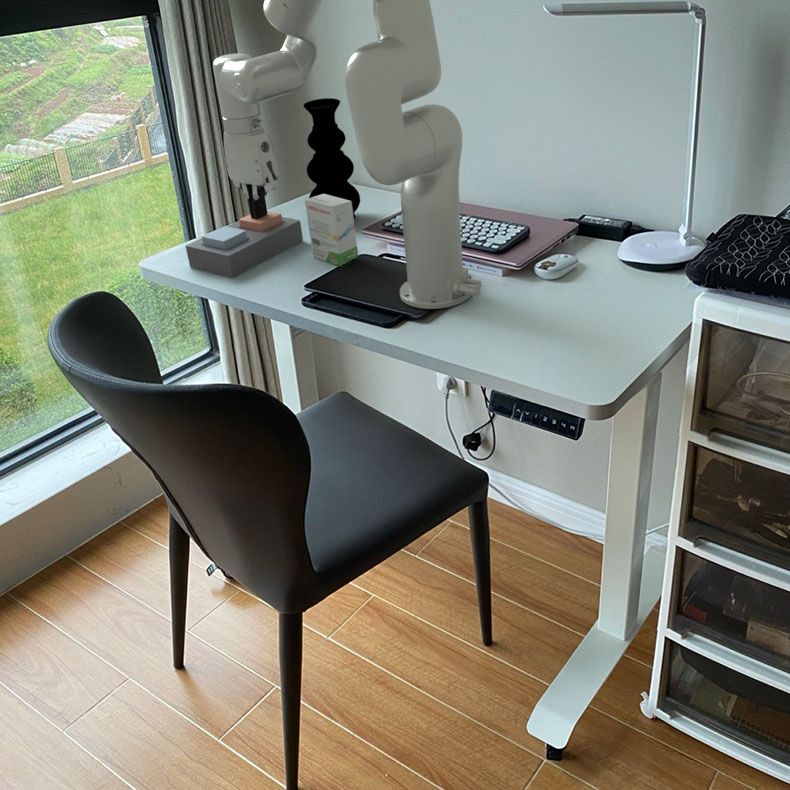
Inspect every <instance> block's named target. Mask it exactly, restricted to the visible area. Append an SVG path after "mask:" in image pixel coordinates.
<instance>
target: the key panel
mask: <svg viewBox="0 0 790 790" xmlns="http://www.w3.org/2000/svg"><path fill="white" fill-rule="evenodd" d="M282 222H283V223H280V224H278V225H276V226H274V227H272V228H270V229H268V230H266V231H264V232H262V233H261V232H256V231H251V230H247V229H242V228H240V223H239V220H238V221H235V222H233V223H231V224H229V225H227V226H226V227H231V228H235V229H240V230H245V231H246V233H247V239H248V240H246V241H244V242H242V243H240V244H238V245H236V246H234V247H232V248H230V249H227V250H225V251H224V250H220V249H216V248H211V247H207V246H204V244H203V239H202V237H201V238H199V239H197V240H195V241H192V242H190V243H188V244H187V245H185V250H186V251H185V252H186V255H187V259H188V264H189V267H190V268H191V269H194V270H199V271H203V272H207V273H211V274H215V275H219V276H223V277H227V278H231V279H234V278H236V277H239V276H240V275H242V274H243V273H246V272H248V271H250V270H251V269H253V268H256V267H257V266H259V265H261V264H263V263H265V262H266V261H269V260H271V259H273V258H275V257H276V256H279V255H281V254H282V253H284V252H286V251H288V250H290V249H292V248H294V247H296V246H297V245H299V244H301V243H304V238H303V232H302V231H303V230H302V224H301V220H299V219H295V218H290V217H289V218H288V217H284V216H282Z"/></svg>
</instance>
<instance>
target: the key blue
mask: <svg viewBox="0 0 790 790" xmlns="http://www.w3.org/2000/svg"><path fill="white" fill-rule="evenodd" d="M201 238H202V239H203V244H204V246H207V247H211V248H216V249H220V250H224V251H225V250H227V249H230V248H232V247H234V246H236V245H238V244H240V243H242V242H244V241H246V240H248V239H247V233H246V231H245V230H240V229H235V228H231V227H227V226H226V225H225V226H221V227H220V228H218V229H217V228H216V229H215V230H213V231H210V232H209V233H207V234H205V235H203V236H201Z"/></svg>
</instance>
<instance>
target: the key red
mask: <svg viewBox="0 0 790 790" xmlns="http://www.w3.org/2000/svg"><path fill="white" fill-rule="evenodd" d="M267 213H268V214H267V215H266V216H263V217H261V218H259V219H255V218H251V215H250V214H247V215H246V216H244V217H241V218H239V219H238V221H239V223H240V228H242V229H247V230H251V231H256V232H261V233H262V232H264V231H266V230H268V229H270V228H272V227H274V226H276V225H278V224H280V223H283V222H282V217H283V216H282V213H278V212H274V211H268V210H267Z"/></svg>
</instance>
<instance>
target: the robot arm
mask: <svg viewBox="0 0 790 790" xmlns="http://www.w3.org/2000/svg"><path fill="white" fill-rule="evenodd" d="M323 1H324V0H264V2H263V14H264V16H265V18H266V20H267V21H268V22H269V24H270V25H271V26H273V27H274V28H275V29H276V30H277V31H279V32H281V33H283V34H285V35H286V37H285V40H284V42H283V45H282V47H281V48H280V50H277V51H273V52H270V53H266V54H263V55H259V56H255V57H251V55H250V54H247V53H243V52H242V53H240V52H239V53H229V54H228V53H227V54H225V55H224V54H223V55H220V56H218V57H216V58H215V59H214V61H213V63H212V69H213V74H214V75H213V76H214V79H215V87H216V92H217V97H218V102H219V107H220V108H219V109H220V113H221V118H222V124H223V130H224V132H223V149H224V158H225V165H226V169H227V173H228V174H227V175H228V177H229V179H230V180H231V181H232V184H233V186H236V187H238V188H240V189H241V190H242V192H243V195H244V198H245V199H247V202H248V203H247V204H248V209H249V215H251V218H255V219H259V218H261V217H263V216H266V215H267V214H268V213H267V211H268V207H267V201H266V197H267V195H268V192H269V193H270V192H273V191H274V190H276V189H277V187H276V183H275V181H278V180H279V179H280V171H279V166H278V161H277V157H276V153H275V149H274V145H273V142H272V138H271V136H270V133H269V131H268V129H265V126H266V121H265V119H264V117H263V111H262V103H265V102H267V101H271V100H273V99H275V98H279V97H283V96H286V95H289V94H292V93H295V92H297V91H298V90H300V89H301V88H302V87H303V85H304V84H305V83H306V81H307V80H308V78H309V76H310V74H311V73H312V70H313V67H314V65H315V63H316V60H317V57H318V49H319V48H318V47H319V46H318V37H317V32H316V30H315V27H314V25H313V24H314V21H315V19H316V17H317V15H318V12H319V9H320V7H321V6H322V2H323ZM372 3H373V4H372V8H373V9H372V10H373V11H372V13H373V17H374V21H375V25H376V33H377V41H373V42H370V43H366V44H364V45H362V46H360V47H359V48H357V49H356V50H355V51H354V52H353V53H352V54H351V56H350V57H349V58H348V59H349V60H348V62H347V65H346V68H345V78H344V80H345V84H344V85H345V92H346V98H347V102H348V105H349V111H350V115H351V116H350V117H351V121H352V125H353V130H354V133H355V138H356V141H357V142H356V143H357V147H358V151H359V156H360V159H361V162H362V164H363V166H364V169H365V170H366V172H367V173H368V176H369V177H371V179H373V181H375V182H377V183H378V184H380V185H382V186H383V185H384V186H394V185H398V184H399V185H400V183H401V188H400V206H401V219H402V220H401V221H402V230H403V242H404V253H405V255H404V256H405V265H406V276H407V277H406V278H407V281H405V282H404V283H403V284H402V285H401V286H400V288H399V297H400V300H401V301H402V302H403V303H405V304H406V305H407V306H410V307H413V308H418V309H425V310H426V309H427V310H437V309H446V308H447V309H448V308H451V307H454V306H457V305H460V304H462V303H464V302H466V301H468V299H469V298H470V297H475V298H478V297H479V296H480V294H481V288H482V287H481V286H482V280H481V279H474V278H470V276H469V268H466V267H463V250H462V234H461V233H462V231H461V230H462V229H461V211H460V210H461V209H460V187H459V186H460V184H459V183H460V181H459V180H460V166H461V159H462V157H461V156H462V150H463V130H462V126H461V124H460V121H459V119H458V117H457V115H456V114H455V113H454V112H453V111H452V110H450V109H449V108H447V107H445V106H443V105H439V104H434V103H433V104H432V103H431V104H424V105H421V106H417V107H415V108H412V109H408V110H406V111H403V108H402V105H404V104H407V103H410V102H412V101H415V100H418V99H420V98H422V97H425V96H427V95H429V94H431V93H432V92H433V91H435V89H437V88H438V86H439V84H440V81H441V80H442V79H441V78H442V65H441V64H442V63H441V59H440V52H439V46H438V39H437V34H436V28H435V23H434V18H433V17H434V16H433V11H432V7H431V2H430V0H373V1H372Z"/></svg>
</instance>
